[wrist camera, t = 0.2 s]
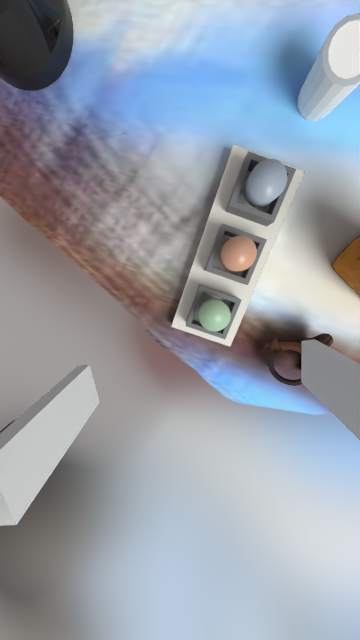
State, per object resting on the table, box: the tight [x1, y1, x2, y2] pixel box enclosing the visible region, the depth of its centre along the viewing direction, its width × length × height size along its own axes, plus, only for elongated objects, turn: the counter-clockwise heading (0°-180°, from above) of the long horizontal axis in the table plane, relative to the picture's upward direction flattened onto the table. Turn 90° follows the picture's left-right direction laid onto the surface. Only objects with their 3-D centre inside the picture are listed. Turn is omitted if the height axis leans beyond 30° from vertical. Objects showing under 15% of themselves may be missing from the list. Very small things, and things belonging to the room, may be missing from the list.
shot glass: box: [298, 13, 360, 121], centre depth 27 cm, size 7×7×7 cm
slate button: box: [244, 159, 287, 208], centre depth 28 cm, size 5×5×3 cm
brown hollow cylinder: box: [266, 334, 333, 386], centre depth 38 cm, size 12×10×8 cm
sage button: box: [198, 298, 231, 331], centre depth 33 cm, size 5×5×3 cm
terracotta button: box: [219, 236, 257, 271], centre depth 31 cm, size 5×5×3 cm
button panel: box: [171, 144, 305, 346], centre depth 34 cm, size 31×12×5 cm, turn 161°
